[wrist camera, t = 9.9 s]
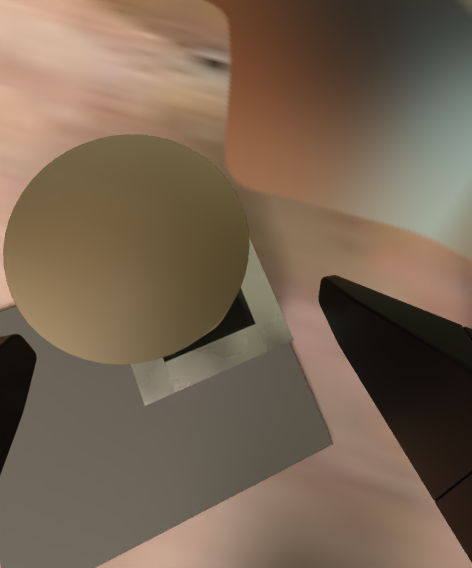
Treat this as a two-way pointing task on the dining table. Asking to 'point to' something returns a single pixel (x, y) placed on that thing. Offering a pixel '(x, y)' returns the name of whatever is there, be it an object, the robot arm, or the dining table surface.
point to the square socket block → (221, 341)
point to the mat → (141, 449)
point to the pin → (126, 249)
